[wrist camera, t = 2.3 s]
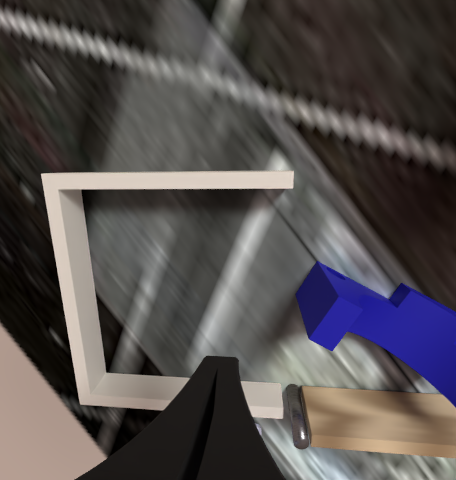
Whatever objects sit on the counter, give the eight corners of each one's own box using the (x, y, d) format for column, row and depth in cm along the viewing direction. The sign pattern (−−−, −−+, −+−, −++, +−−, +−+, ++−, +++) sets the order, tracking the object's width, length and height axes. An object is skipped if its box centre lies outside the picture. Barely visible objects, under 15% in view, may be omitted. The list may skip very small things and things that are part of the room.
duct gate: (301, 396, 24) (311, 446, 20) (302, 386, 24) (312, 434, 19) (514, 409, 22) (575, 467, 18) (517, 399, 22) (579, 455, 18)
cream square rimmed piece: (298, 394, 24) (308, 449, 19) (96, 381, 26) (61, 429, 21) (312, 170, 19) (329, 172, 15) (65, 172, 21) (12, 174, 16)
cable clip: (471, 320, 21) (551, 378, 15) (431, 365, 22) (492, 435, 17) (328, 242, 21) (355, 273, 15) (295, 293, 22) (308, 339, 16)
